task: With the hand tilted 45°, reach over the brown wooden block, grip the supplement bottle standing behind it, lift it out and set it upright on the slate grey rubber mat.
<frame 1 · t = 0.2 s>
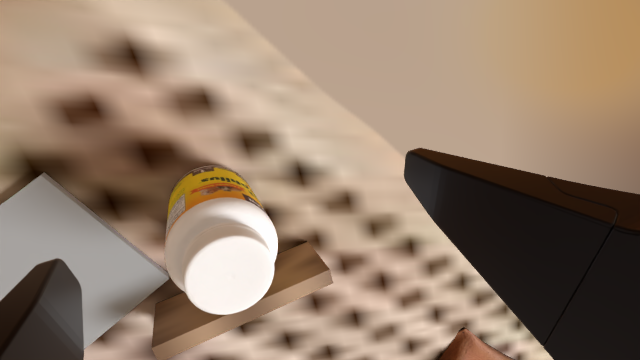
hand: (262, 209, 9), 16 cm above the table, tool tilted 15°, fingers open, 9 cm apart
supplement bottle: (211, 200, 24), on the table
slate grey mat: (47, 280, 22), on the table
brown wooden block: (238, 276, 27), on the table
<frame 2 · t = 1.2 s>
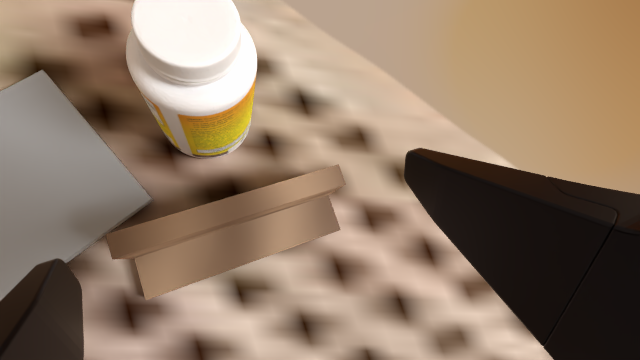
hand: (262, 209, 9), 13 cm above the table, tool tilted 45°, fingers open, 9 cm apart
supplement bottle: (207, 121, 23), on the table
slate grey mat: (17, 188, 19), on the table
brown wooden block: (236, 216, 22), on the table
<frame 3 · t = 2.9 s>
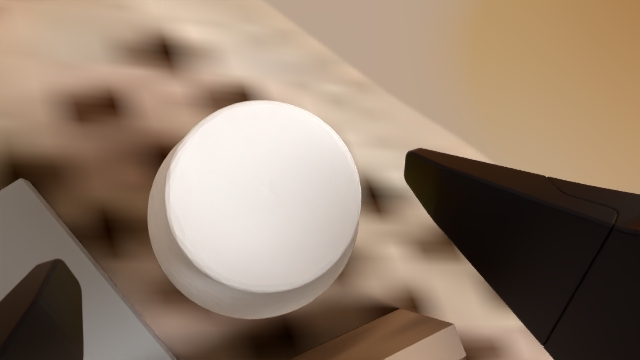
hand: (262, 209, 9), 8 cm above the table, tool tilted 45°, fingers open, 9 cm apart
supplement bottle: (249, 232, 17), on the table
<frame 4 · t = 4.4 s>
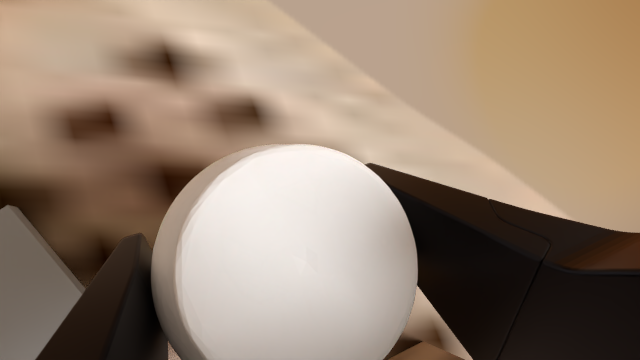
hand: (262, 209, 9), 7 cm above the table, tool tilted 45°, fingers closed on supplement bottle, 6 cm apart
supplement bottle: (259, 260, 15), on the table, touching gripper
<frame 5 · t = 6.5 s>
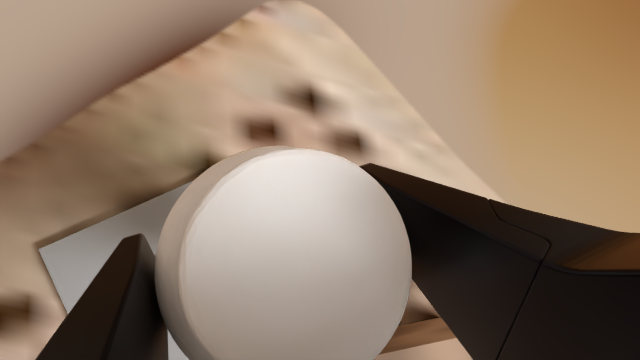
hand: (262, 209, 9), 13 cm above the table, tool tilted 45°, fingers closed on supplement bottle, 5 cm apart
supplement bottle: (259, 257, 15), point 6 cm above the table, touching gripper
slate grey mat: (173, 284, 20), on the table
brown wooden block: (359, 343, 22), on the table
when the fingers open (8 cm above the table, at t = 8.9 s): supplement bottle stays where it is, resting on slate grey mat.
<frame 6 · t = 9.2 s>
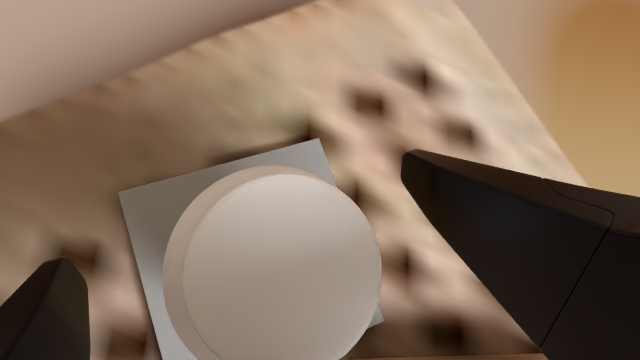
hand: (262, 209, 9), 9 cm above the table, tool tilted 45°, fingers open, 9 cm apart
supplement bottle: (258, 262, 17), resting on slate grey mat
slate grey mat: (256, 259, 17), on the table
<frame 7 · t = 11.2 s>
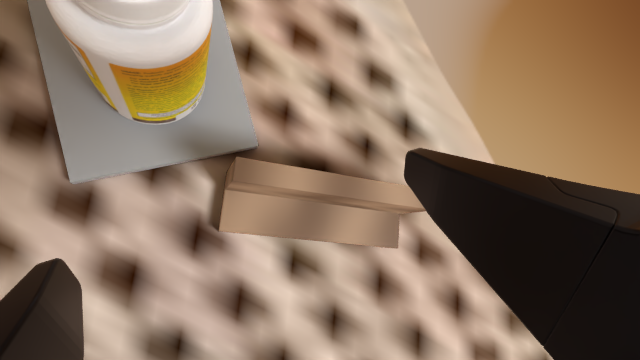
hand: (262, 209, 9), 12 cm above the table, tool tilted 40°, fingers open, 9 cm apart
supplement bottle: (153, 82, 20), resting on slate grey mat
slate grey mat: (153, 83, 20), on the table
brown wooden block: (316, 195, 23), on the table
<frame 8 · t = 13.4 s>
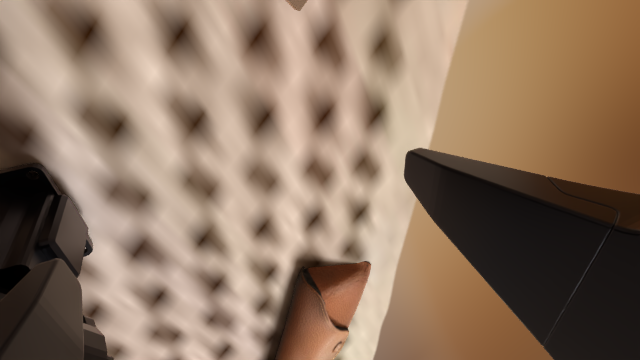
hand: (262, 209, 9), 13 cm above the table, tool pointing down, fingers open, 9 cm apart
sunglasses case: (311, 321, 37), on the table
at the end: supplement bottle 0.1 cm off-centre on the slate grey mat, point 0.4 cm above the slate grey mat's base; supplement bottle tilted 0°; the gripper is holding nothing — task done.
